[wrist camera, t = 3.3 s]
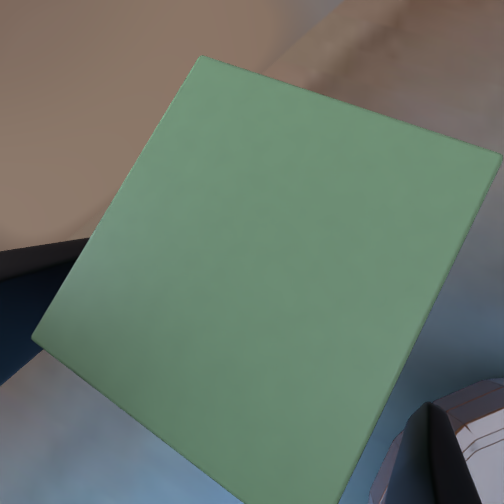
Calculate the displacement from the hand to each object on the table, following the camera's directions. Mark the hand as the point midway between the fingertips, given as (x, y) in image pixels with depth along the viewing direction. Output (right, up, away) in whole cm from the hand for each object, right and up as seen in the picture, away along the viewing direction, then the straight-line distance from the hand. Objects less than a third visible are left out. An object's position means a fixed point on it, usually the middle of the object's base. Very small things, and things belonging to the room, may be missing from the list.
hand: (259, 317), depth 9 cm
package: (+2, -1, +8) cm, 9 cm away
